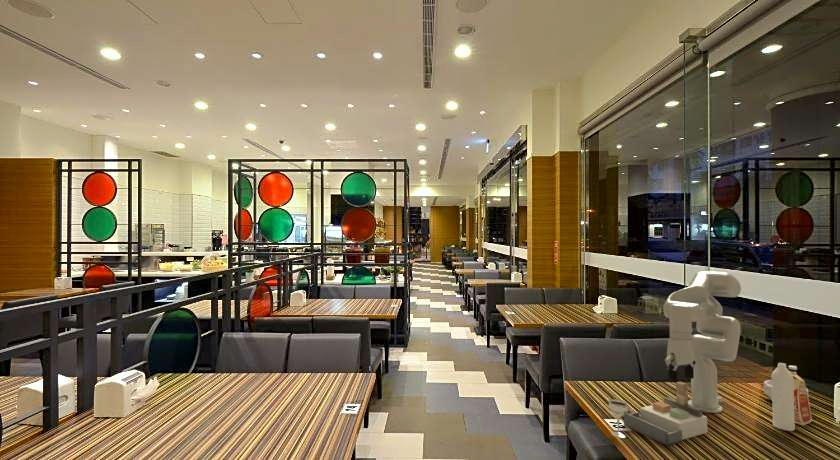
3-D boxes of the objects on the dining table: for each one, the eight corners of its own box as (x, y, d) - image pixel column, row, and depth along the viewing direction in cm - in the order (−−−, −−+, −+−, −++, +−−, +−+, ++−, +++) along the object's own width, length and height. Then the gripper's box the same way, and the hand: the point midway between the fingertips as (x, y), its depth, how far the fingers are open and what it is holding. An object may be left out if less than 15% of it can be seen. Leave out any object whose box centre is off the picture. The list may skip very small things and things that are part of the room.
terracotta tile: (660, 406, 167) (660, 401, 167) (671, 410, 163) (671, 405, 163) (652, 408, 165) (652, 403, 165) (663, 412, 161) (663, 407, 161)
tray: (638, 421, 166) (638, 409, 166) (682, 441, 150) (681, 427, 150) (624, 425, 163) (623, 412, 163) (667, 445, 146) (667, 431, 147)
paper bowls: (806, 412, 176) (806, 393, 176) (761, 402, 188) (760, 384, 188) (811, 403, 186) (810, 385, 186) (767, 394, 198) (767, 377, 198)
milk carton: (803, 425, 163) (801, 374, 164) (774, 416, 172) (773, 368, 172) (813, 421, 168) (811, 371, 168) (785, 412, 176) (783, 365, 176)
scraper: (667, 403, 170) (667, 377, 171) (702, 416, 157) (702, 388, 158) (663, 404, 169) (662, 378, 170) (697, 417, 156) (697, 389, 157)
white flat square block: (667, 416, 171) (667, 401, 172) (707, 432, 157) (707, 416, 157) (640, 422, 165) (640, 407, 165) (679, 440, 150) (679, 423, 151)
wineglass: (619, 440, 150) (619, 407, 151) (604, 432, 157) (604, 400, 157) (632, 436, 153) (632, 404, 154) (617, 429, 159) (617, 397, 160)
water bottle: (768, 424, 164) (766, 361, 165) (783, 423, 165) (781, 360, 166) (790, 434, 156) (788, 367, 157) (805, 433, 156) (803, 367, 157)
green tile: (677, 413, 160) (677, 407, 160) (688, 417, 156) (688, 412, 156) (669, 414, 159) (669, 409, 159) (680, 419, 154) (680, 414, 154)
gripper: (685, 332, 171) (686, 374, 170) (657, 334, 164) (657, 378, 163) (704, 335, 164) (704, 379, 163) (675, 338, 157) (675, 384, 157)
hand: (681, 378), depth 163 cm, fingers open, 9 cm apart
